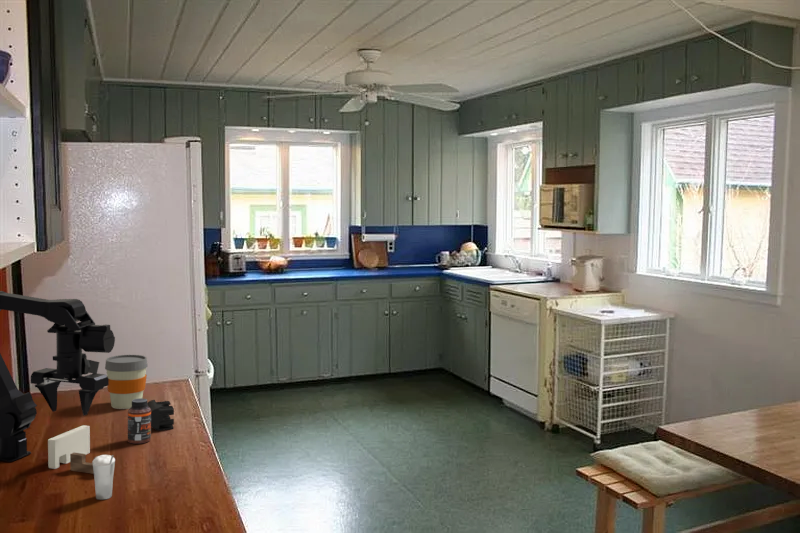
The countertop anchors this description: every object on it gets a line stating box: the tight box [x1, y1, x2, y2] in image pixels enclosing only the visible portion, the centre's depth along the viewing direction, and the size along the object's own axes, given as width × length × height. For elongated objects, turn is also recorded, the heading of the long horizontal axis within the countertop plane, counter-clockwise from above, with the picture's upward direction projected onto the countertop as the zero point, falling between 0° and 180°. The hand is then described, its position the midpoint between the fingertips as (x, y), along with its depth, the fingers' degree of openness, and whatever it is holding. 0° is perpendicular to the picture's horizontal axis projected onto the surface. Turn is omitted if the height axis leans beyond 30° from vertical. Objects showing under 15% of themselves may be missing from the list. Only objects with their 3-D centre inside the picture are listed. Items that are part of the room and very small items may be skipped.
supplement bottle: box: [127, 397, 152, 445], centre depth 191 cm, size 6×6×11 cm
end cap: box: [147, 399, 175, 432], centre depth 204 cm, size 10×7×7 cm
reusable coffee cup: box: [104, 354, 148, 410], centre depth 224 cm, size 13×13×15 cm
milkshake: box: [91, 454, 116, 501], centre depth 154 cm, size 4×5×10 cm
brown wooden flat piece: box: [69, 453, 99, 475], centre depth 168 cm, size 10×1×4 cm, turn 74°
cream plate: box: [47, 424, 91, 470], centre depth 175 cm, size 12×2×7 cm, turn 164°
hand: (69, 413), depth 175 cm, fingers open, 9 cm apart
